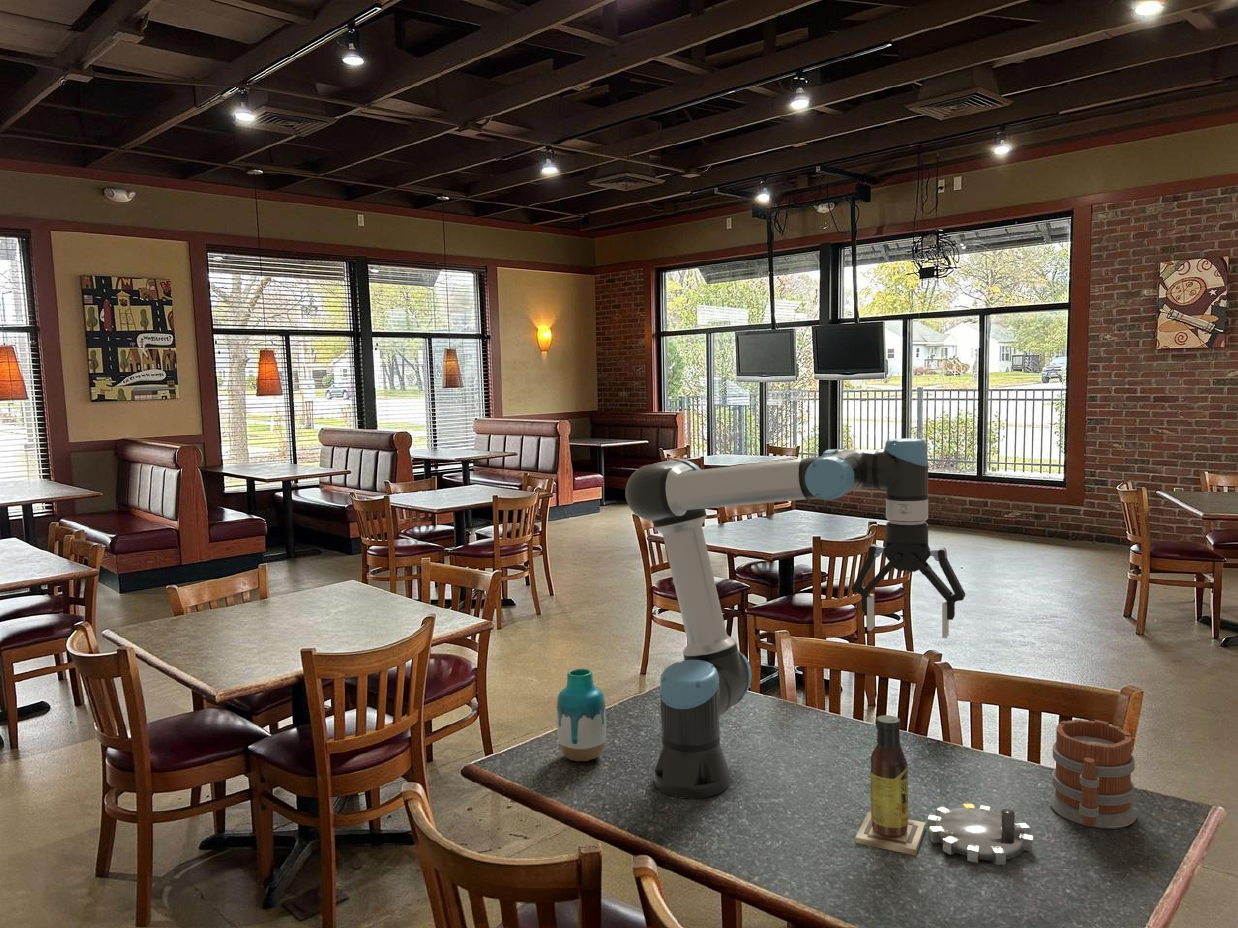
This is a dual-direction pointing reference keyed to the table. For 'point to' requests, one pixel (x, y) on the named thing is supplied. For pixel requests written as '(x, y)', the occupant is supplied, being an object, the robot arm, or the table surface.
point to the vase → (581, 717)
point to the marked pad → (900, 844)
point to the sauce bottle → (889, 780)
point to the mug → (1093, 774)
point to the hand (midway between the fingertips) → (907, 632)
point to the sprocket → (980, 833)
